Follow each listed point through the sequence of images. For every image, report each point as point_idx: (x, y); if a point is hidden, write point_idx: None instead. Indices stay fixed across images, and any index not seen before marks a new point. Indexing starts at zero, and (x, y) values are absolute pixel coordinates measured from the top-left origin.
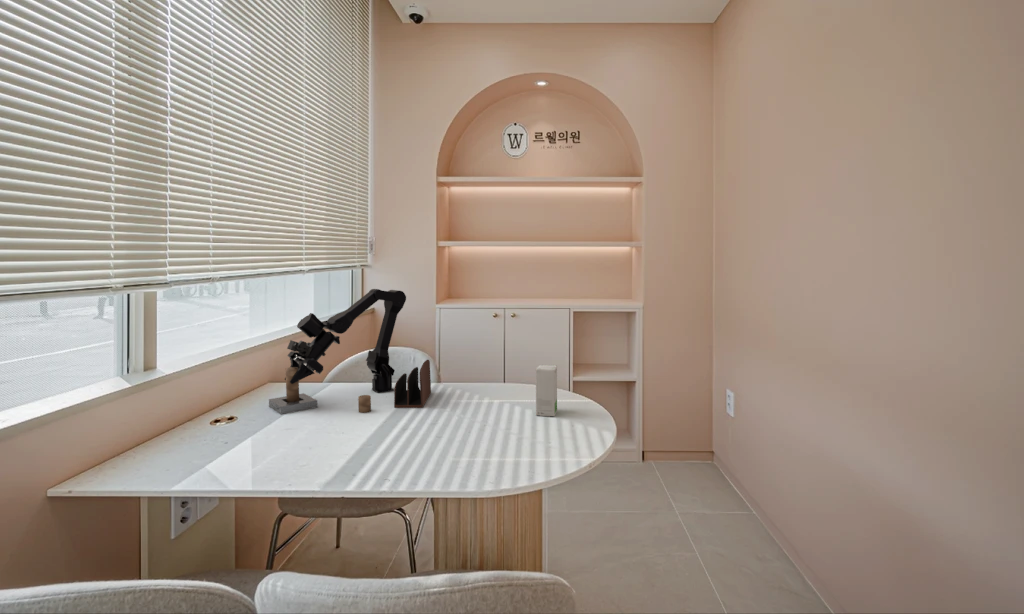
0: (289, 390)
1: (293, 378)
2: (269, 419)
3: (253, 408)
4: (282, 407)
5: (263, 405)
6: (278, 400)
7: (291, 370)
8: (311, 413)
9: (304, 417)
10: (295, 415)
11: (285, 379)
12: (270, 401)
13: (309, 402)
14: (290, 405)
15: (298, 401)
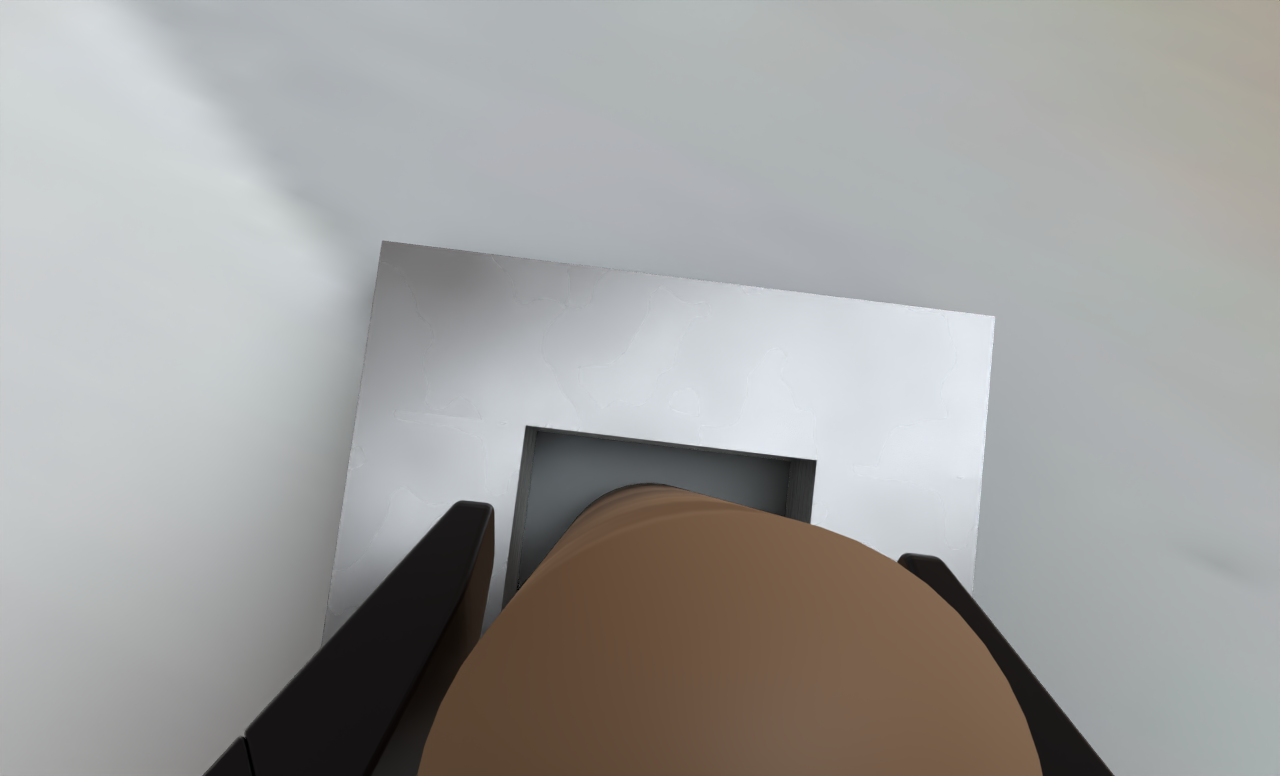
0: (588, 513)
1: (374, 602)
2: (311, 57)
3: (1008, 141)
4: (385, 270)
5: (1062, 306)
6: (795, 393)
7: (462, 665)
8: (107, 598)
9: (6, 427)
10: (203, 386)
11: None
12: (901, 309)
13: None
14: (362, 398)
15: None
